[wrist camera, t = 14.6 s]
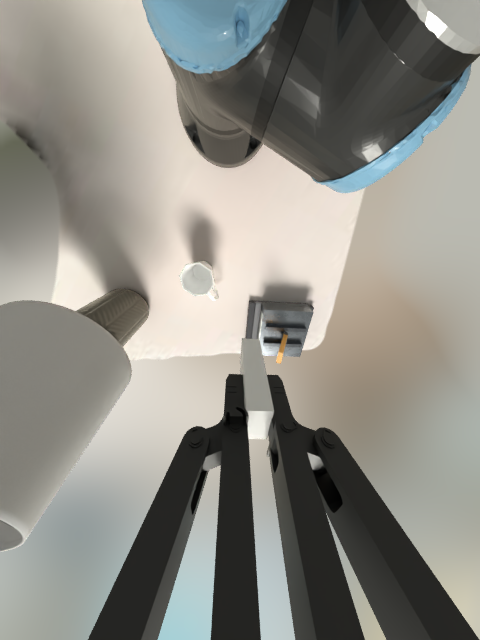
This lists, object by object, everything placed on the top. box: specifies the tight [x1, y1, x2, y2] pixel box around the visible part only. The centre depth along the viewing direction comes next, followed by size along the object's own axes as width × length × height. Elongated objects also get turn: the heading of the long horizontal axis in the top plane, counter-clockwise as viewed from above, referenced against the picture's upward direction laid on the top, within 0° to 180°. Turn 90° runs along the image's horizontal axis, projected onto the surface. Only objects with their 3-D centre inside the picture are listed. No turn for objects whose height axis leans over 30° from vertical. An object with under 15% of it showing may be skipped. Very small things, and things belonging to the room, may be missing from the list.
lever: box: [276, 332, 288, 364], centre depth 41 cm, size 3×1×9 cm, turn 176°
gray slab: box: [246, 301, 261, 339], centre depth 49 cm, size 14×3×1 cm, turn 176°
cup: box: [179, 261, 219, 301], centre depth 39 cm, size 7×10×8 cm
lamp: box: [0, 289, 149, 552], centre depth 29 cm, size 20×20×39 cm
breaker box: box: [257, 301, 313, 357], centre depth 47 cm, size 14×12×6 cm
